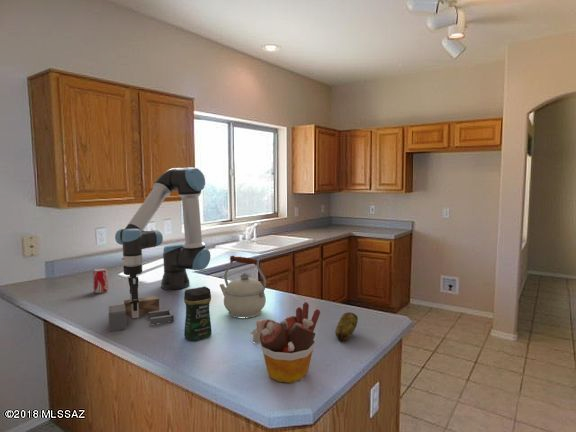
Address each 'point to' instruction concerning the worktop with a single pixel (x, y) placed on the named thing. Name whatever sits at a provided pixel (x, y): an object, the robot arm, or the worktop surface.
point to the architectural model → (256, 335)
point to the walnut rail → (143, 305)
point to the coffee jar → (197, 313)
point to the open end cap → (161, 316)
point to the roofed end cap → (117, 317)
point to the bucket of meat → (288, 345)
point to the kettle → (244, 292)
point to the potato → (346, 326)
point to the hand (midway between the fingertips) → (134, 312)
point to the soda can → (100, 280)
